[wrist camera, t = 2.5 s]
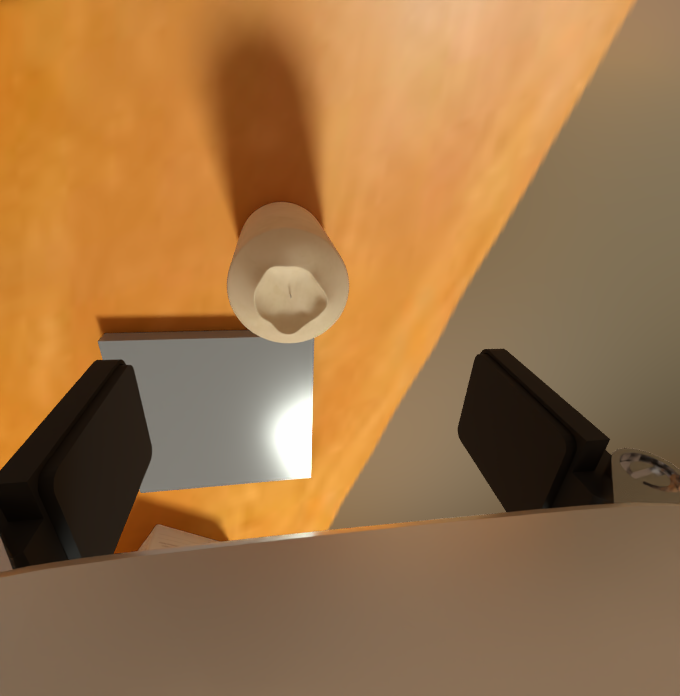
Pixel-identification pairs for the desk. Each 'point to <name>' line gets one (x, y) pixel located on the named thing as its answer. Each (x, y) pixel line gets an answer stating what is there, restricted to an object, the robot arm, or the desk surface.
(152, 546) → the small box
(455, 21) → the desk surface
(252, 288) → the candle
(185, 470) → the slate coaster
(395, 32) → the desk surface
